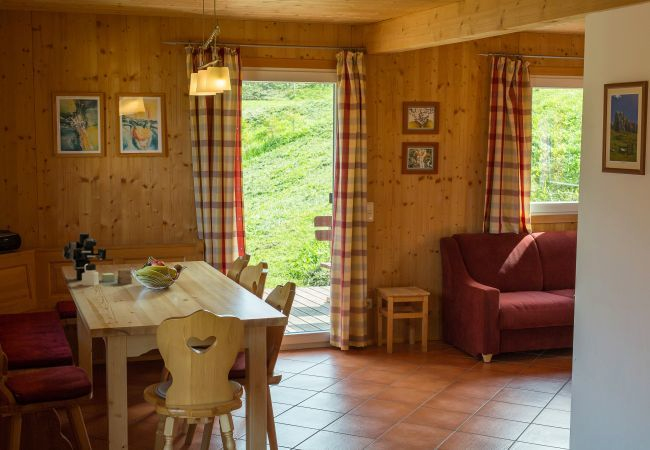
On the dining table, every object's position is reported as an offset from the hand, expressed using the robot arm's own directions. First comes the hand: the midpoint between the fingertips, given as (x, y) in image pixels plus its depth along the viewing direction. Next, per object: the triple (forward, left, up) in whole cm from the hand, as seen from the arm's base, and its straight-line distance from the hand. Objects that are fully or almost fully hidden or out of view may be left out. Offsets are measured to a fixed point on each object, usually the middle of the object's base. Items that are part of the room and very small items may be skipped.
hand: (93, 257), depth 475 cm
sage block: (-11, +11, -16) cm, 22 cm away
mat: (-4, +13, -16) cm, 21 cm away
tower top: (+2, +17, -12) cm, 21 cm away
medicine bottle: (-4, -1, -17) cm, 17 cm away
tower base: (+2, +17, -16) cm, 23 cm away
